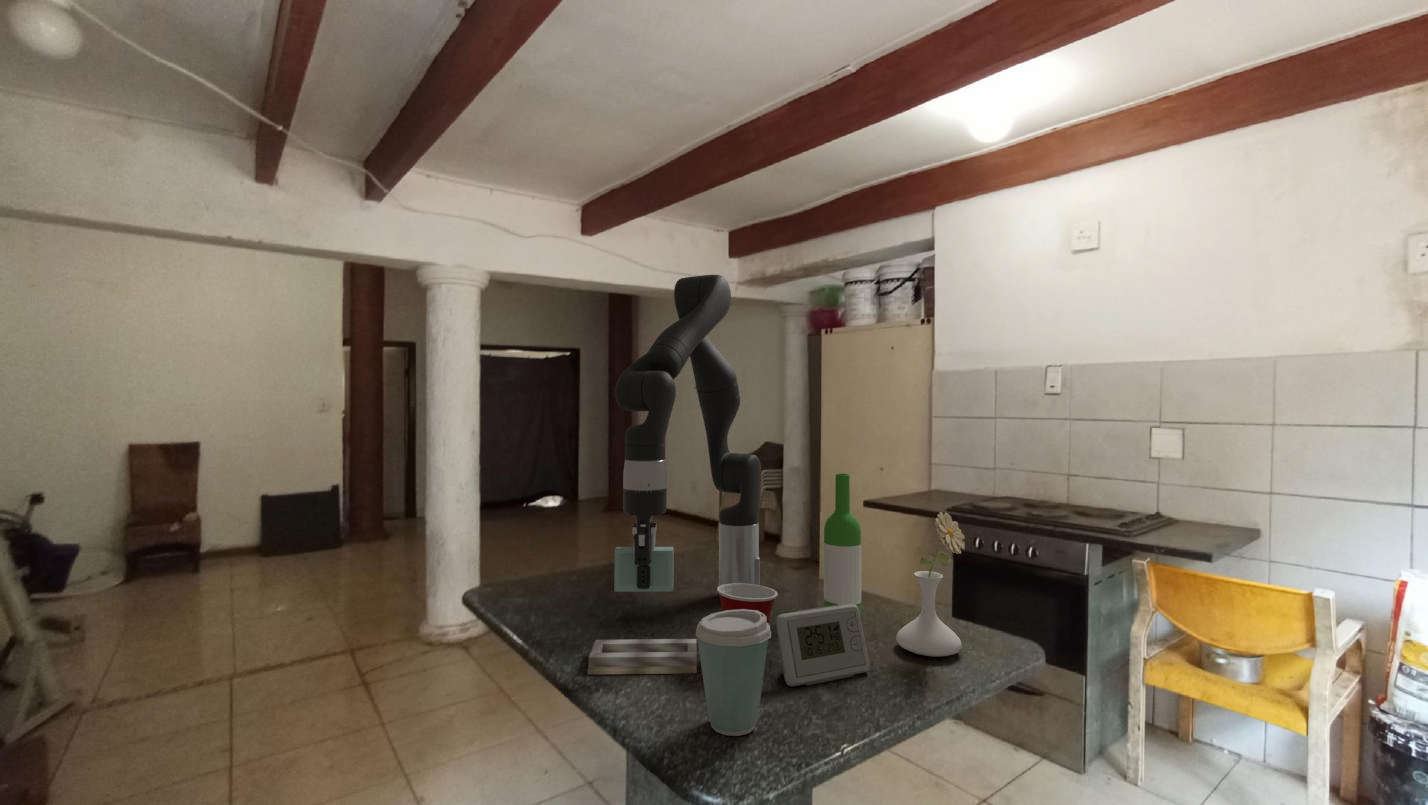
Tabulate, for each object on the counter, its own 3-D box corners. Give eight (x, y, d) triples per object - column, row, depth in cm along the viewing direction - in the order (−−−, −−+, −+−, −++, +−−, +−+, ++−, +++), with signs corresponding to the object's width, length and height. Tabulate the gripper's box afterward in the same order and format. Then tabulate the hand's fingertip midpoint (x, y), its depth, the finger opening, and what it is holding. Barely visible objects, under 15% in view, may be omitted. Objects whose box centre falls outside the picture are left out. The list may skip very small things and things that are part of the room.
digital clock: (783, 691, 99) (784, 623, 99) (767, 667, 108) (767, 605, 108) (880, 682, 102) (880, 616, 102) (856, 660, 111) (856, 599, 111)
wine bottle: (835, 607, 140) (835, 471, 140) (867, 615, 134) (867, 474, 135) (816, 616, 134) (816, 474, 134) (849, 624, 129) (849, 477, 129)
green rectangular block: (673, 586, 112) (673, 546, 112) (672, 591, 108) (672, 551, 108) (616, 586, 111) (616, 546, 111) (614, 592, 108) (614, 551, 108)
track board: (696, 650, 115) (696, 636, 115) (696, 673, 105) (696, 658, 105) (596, 651, 115) (596, 637, 115) (587, 674, 105) (587, 659, 105)
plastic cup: (790, 660, 111) (790, 591, 111) (738, 673, 105) (738, 601, 105) (754, 640, 120) (754, 577, 120) (705, 652, 114) (705, 585, 114)
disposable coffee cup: (701, 748, 82) (701, 632, 82) (690, 709, 93) (690, 606, 93) (780, 741, 84) (780, 627, 84) (760, 703, 94) (760, 602, 95)
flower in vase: (924, 667, 108) (924, 520, 108) (883, 643, 118) (883, 510, 119) (983, 656, 113) (983, 515, 113) (938, 634, 123) (938, 506, 123)
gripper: (664, 491, 103) (664, 597, 103) (668, 481, 117) (667, 574, 117) (618, 491, 103) (617, 597, 103) (627, 481, 117) (627, 574, 117)
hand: (644, 584), depth 110 cm, fingers closed on green rectangular block, 3 cm apart
